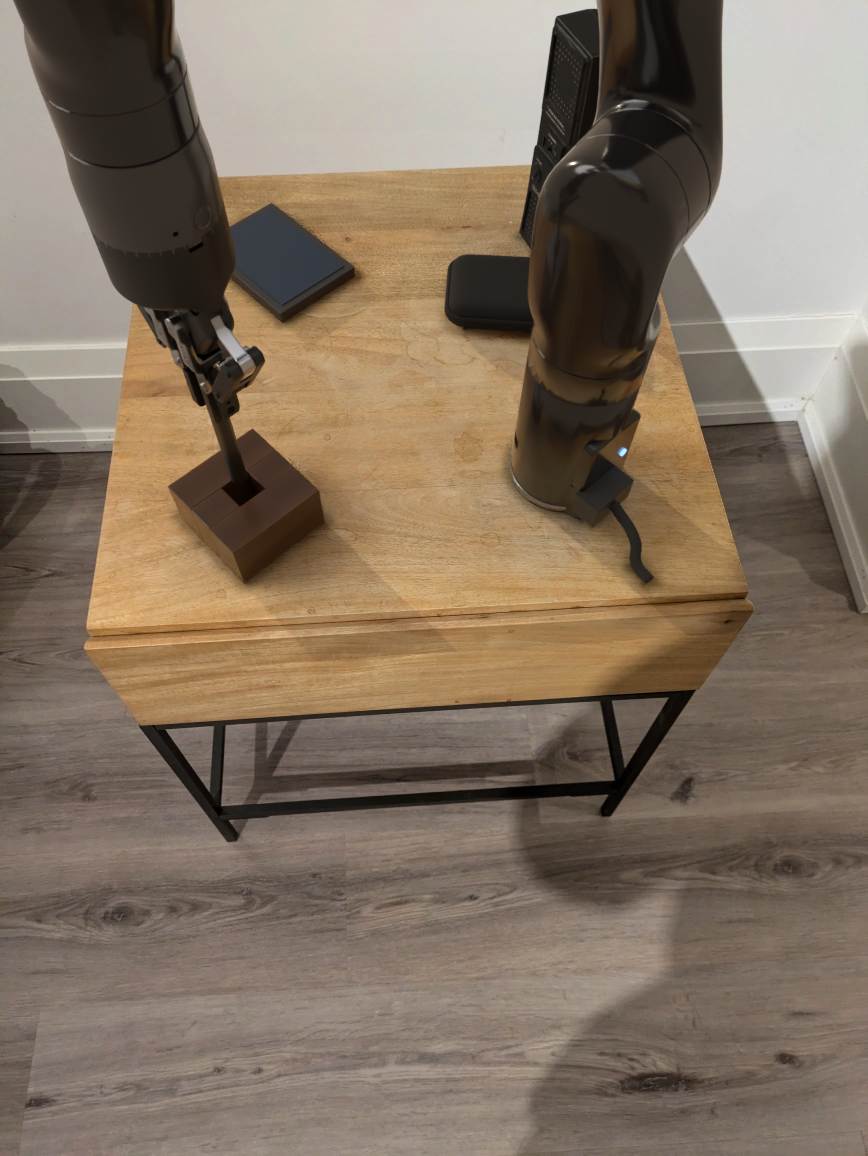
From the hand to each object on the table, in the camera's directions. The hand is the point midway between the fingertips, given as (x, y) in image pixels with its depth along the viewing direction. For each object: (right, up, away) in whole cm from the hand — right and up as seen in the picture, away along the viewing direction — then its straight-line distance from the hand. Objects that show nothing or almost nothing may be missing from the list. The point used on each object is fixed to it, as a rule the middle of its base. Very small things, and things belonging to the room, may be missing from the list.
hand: (217, 406), depth 62 cm
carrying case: (+24, +15, +26) cm, 39 cm away
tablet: (-1, +21, +29) cm, 36 cm away
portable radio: (+29, +24, +31) cm, 49 cm away
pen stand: (0, -7, +13) cm, 15 cm away
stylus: (0, -4, +8) cm, 9 cm away
